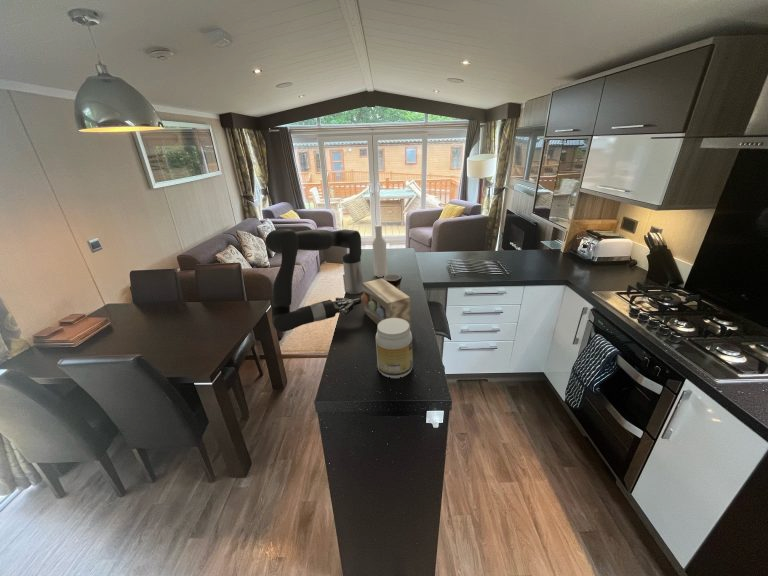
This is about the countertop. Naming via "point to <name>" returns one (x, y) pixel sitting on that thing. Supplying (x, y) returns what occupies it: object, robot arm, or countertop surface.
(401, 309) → the box
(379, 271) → the bottle
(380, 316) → the button slate
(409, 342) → the supplement tub
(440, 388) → the countertop surface
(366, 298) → the button terracotta
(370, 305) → the button sage
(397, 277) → the coffee mug
